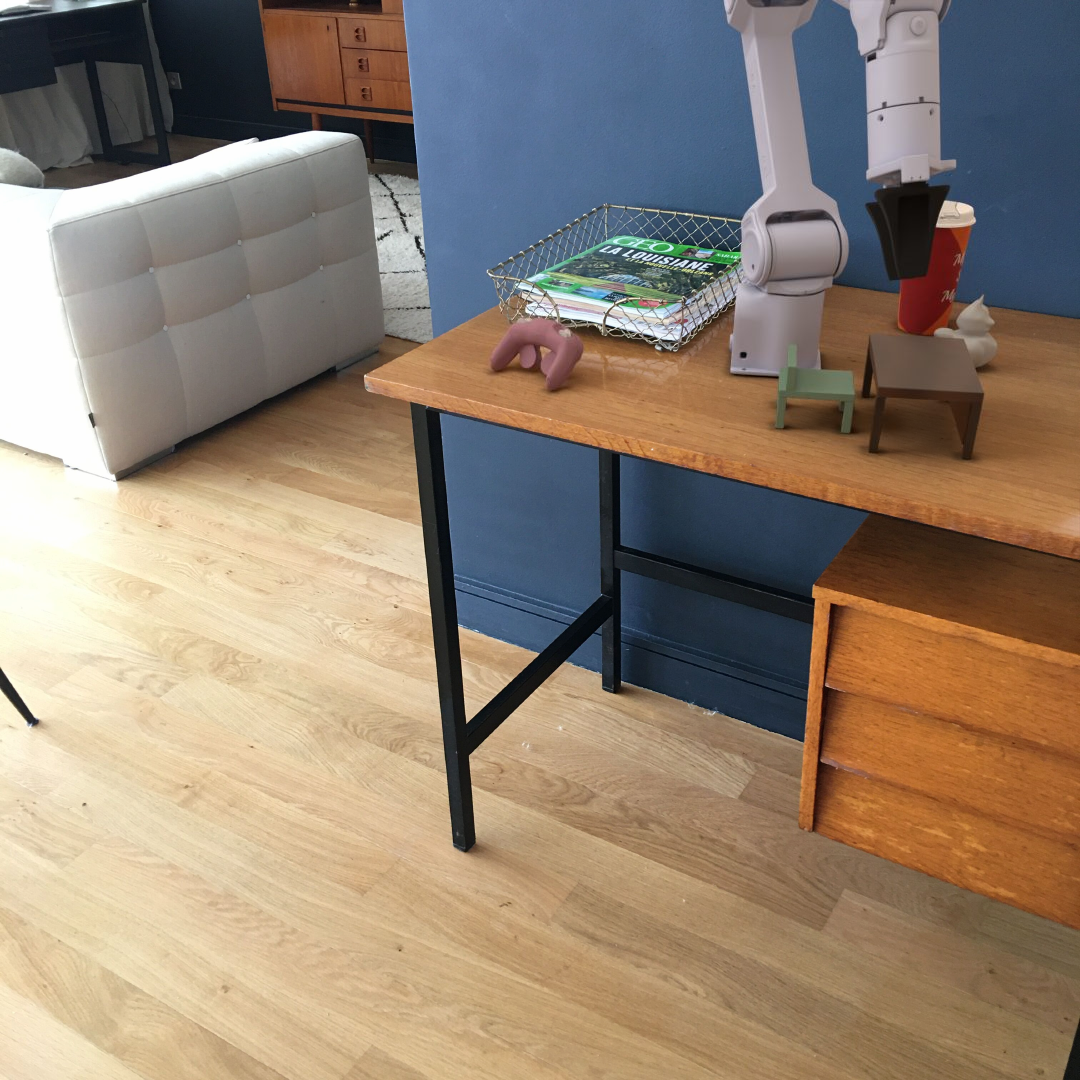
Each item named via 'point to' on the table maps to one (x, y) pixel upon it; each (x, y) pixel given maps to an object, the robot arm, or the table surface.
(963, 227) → the paper cup
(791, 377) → the green seat
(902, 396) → the desk
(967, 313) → the white sculpted figure
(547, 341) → the video game controller
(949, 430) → the table surface
